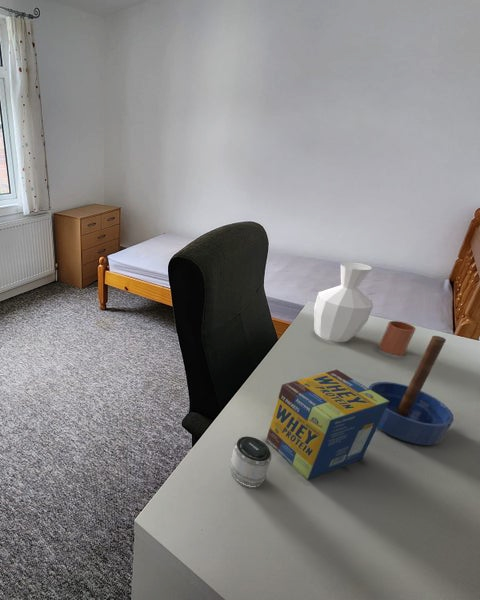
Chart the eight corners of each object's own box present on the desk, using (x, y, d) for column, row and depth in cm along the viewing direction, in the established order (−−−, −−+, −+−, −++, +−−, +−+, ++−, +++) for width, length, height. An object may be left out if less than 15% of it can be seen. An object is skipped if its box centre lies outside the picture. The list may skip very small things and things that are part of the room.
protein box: (264, 440, 74) (280, 383, 68) (317, 423, 78) (337, 368, 72) (307, 481, 65) (330, 420, 59) (364, 459, 69) (392, 400, 63)
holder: (400, 348, 105) (412, 323, 102) (406, 358, 101) (418, 332, 97) (376, 344, 108) (386, 319, 104) (380, 353, 103) (391, 328, 99)
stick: (403, 418, 78) (443, 336, 69) (405, 424, 77) (447, 341, 68) (392, 415, 79) (430, 334, 70) (394, 421, 78) (434, 339, 68)
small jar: (241, 456, 70) (248, 428, 67) (270, 479, 66) (279, 450, 62) (222, 471, 67) (228, 442, 64) (251, 496, 63) (259, 466, 59)
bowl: (428, 412, 81) (439, 392, 78) (452, 456, 69) (466, 435, 67) (355, 394, 87) (362, 375, 84) (366, 432, 76) (375, 411, 73)
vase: (300, 336, 113) (321, 265, 102) (313, 322, 122) (334, 255, 111) (352, 354, 103) (381, 277, 93) (362, 337, 112) (390, 265, 101)
